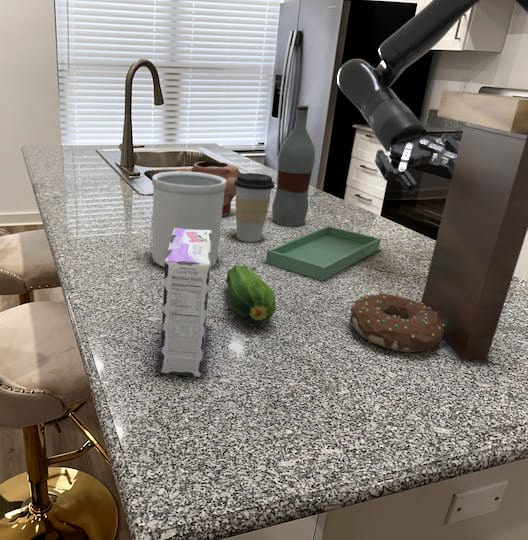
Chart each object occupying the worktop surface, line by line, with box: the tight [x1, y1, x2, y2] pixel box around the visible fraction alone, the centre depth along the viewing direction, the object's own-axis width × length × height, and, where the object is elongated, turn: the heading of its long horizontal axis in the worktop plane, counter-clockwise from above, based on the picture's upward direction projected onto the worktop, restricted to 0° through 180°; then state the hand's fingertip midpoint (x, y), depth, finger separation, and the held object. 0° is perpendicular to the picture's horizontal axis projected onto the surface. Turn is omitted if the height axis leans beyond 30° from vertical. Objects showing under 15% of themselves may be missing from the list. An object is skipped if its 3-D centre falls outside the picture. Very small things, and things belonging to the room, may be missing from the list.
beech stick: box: [436, 90, 528, 133], centre depth 75 cm, size 4×22×4 cm, turn 177°
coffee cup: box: [234, 172, 276, 243], centre depth 121 cm, size 9×9×15 cm
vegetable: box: [225, 264, 277, 327], centre depth 88 cm, size 7×7×20 cm
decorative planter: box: [177, 160, 241, 217], centre depth 141 cm, size 20×12×14 cm, turn 91°
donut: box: [349, 292, 445, 353], centre depth 80 cm, size 14×14×5 cm
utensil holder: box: [151, 170, 227, 268], centre depth 106 cm, size 15×15×18 cm
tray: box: [265, 225, 382, 282], centre depth 114 cm, size 27×13×3 cm, turn 137°
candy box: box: [159, 228, 212, 378], centre depth 71 cm, size 14×6×16 cm, turn 174°
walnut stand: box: [420, 122, 528, 362], centre depth 76 cm, size 4×16×32 cm, turn 177°
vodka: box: [271, 104, 316, 227], centre depth 133 cm, size 9×9×30 cm
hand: (438, 183), depth 89 cm, fingers open, 8 cm apart
